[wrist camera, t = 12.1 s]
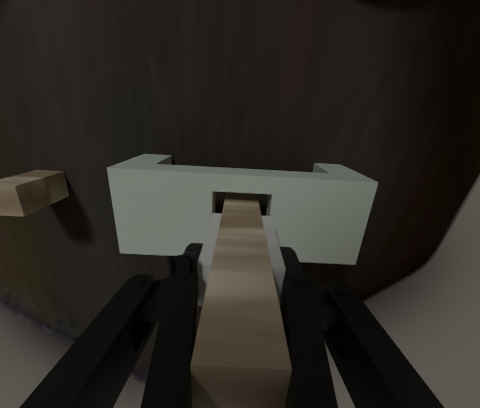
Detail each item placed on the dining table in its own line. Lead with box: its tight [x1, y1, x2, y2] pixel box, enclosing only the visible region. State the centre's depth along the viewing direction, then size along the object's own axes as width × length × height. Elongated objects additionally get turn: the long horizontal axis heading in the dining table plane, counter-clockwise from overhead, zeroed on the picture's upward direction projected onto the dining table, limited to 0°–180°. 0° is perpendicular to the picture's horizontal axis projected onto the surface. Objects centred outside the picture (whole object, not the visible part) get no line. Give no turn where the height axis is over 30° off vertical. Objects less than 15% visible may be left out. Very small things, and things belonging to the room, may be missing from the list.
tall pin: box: [190, 192, 292, 408], centre depth 16 cm, size 3×3×18 cm
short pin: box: [0, 170, 69, 216], centre depth 24 cm, size 3×3×6 cm
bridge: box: [107, 154, 378, 265], centre depth 23 cm, size 8×22×8 cm, turn 87°
